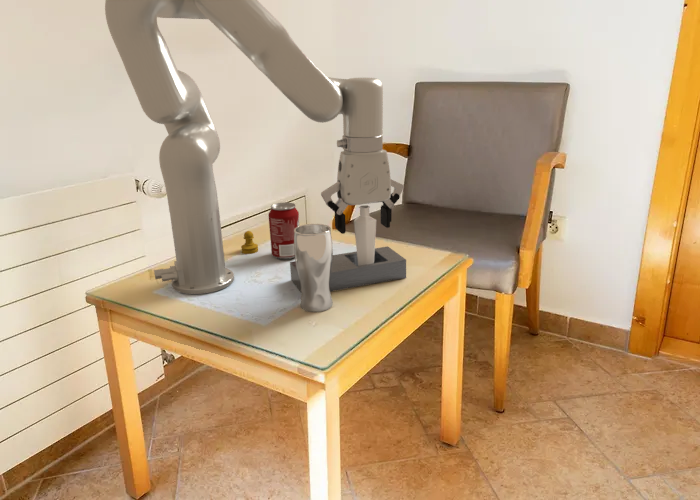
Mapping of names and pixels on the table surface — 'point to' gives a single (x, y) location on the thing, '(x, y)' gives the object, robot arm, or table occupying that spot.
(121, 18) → the robot arm
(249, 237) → the chess piece
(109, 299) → the table surface
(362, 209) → the perfume bottle
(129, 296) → the table surface
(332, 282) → the grey block with hole
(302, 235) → the beer glass
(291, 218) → the soda can
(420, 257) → the table surface
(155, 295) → the table surface
